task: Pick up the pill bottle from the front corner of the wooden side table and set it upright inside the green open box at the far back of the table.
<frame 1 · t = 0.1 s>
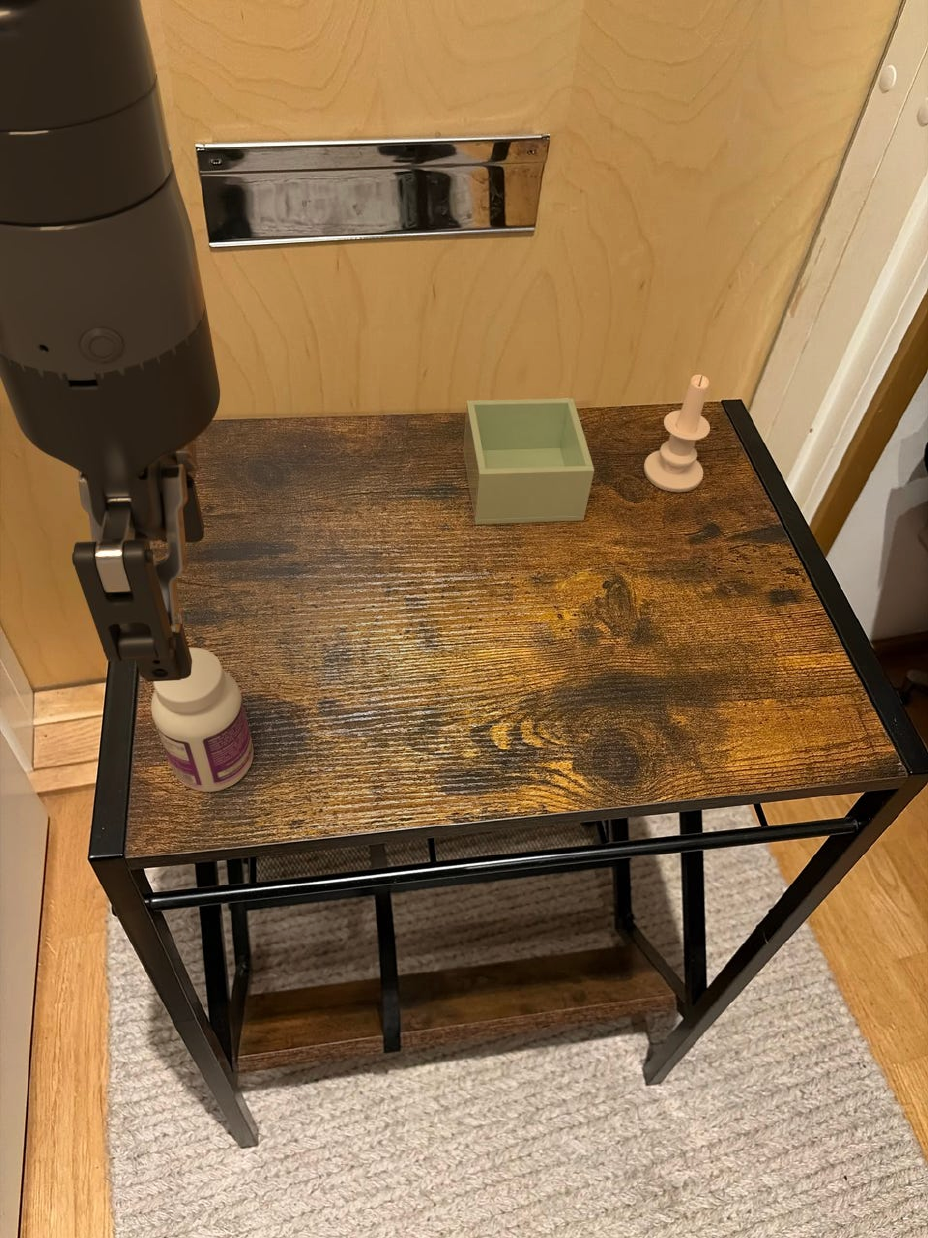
hand: (176, 602, 45), 20 cm above the table, tool pointing down, fingers open, 8 cm apart
pill bottle: (213, 760, 63), on the table
candle: (672, 474, 83), on the table
green open box: (521, 485, 81), on the table
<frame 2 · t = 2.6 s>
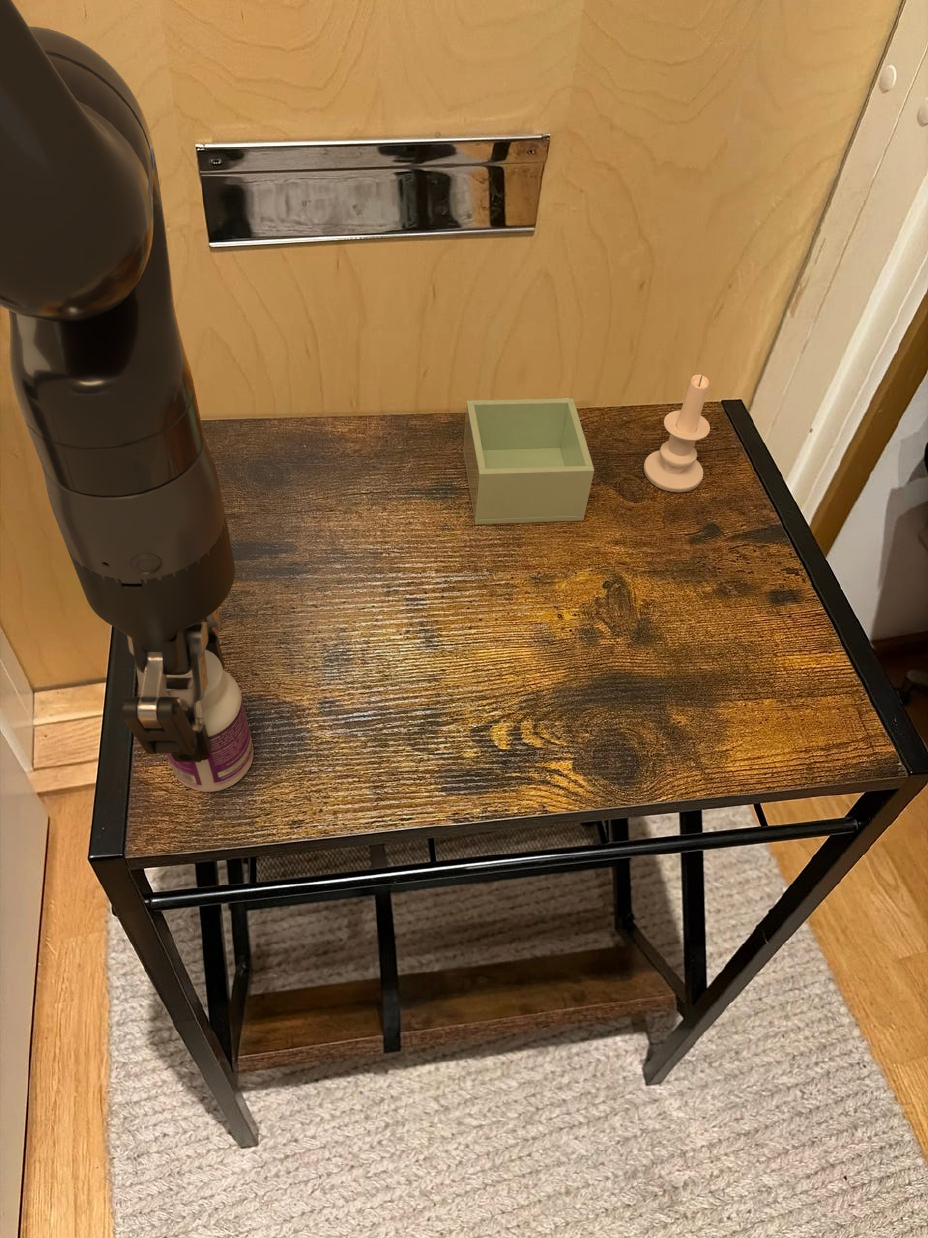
hand: (200, 713, 58), 5 cm above the table, tool pointing down, fingers closed on pill bottle, 5 cm apart
pill bottle: (213, 760, 63), on the table, touching gripper
everything else where it was.
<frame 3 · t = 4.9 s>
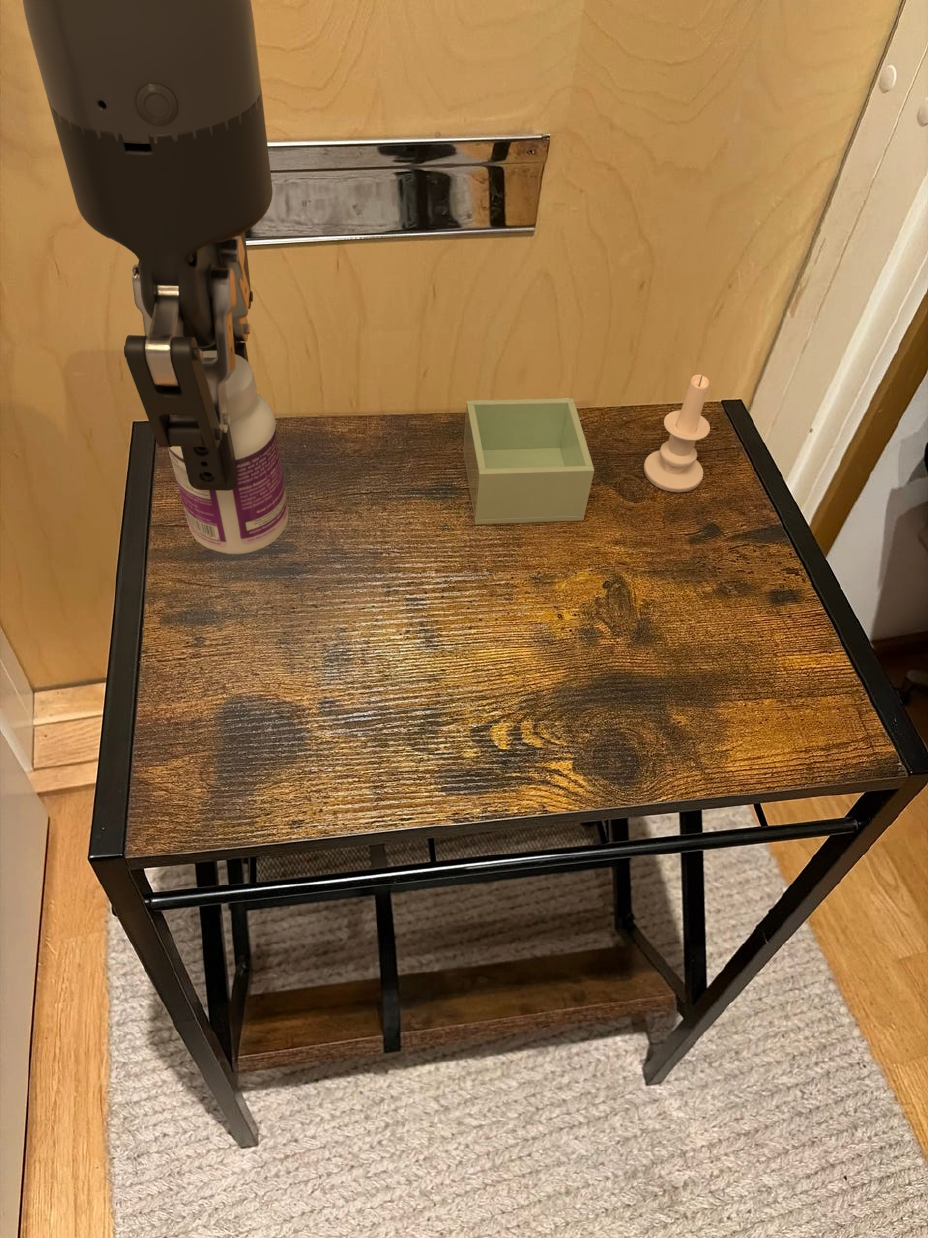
hand: (223, 443, 47), 24 cm above the table, tool pointing down, fingers closed on pill bottle, 5 cm apart
pill bottle: (239, 525, 51), point 18 cm above the table, touching gripper
everything else where it was.
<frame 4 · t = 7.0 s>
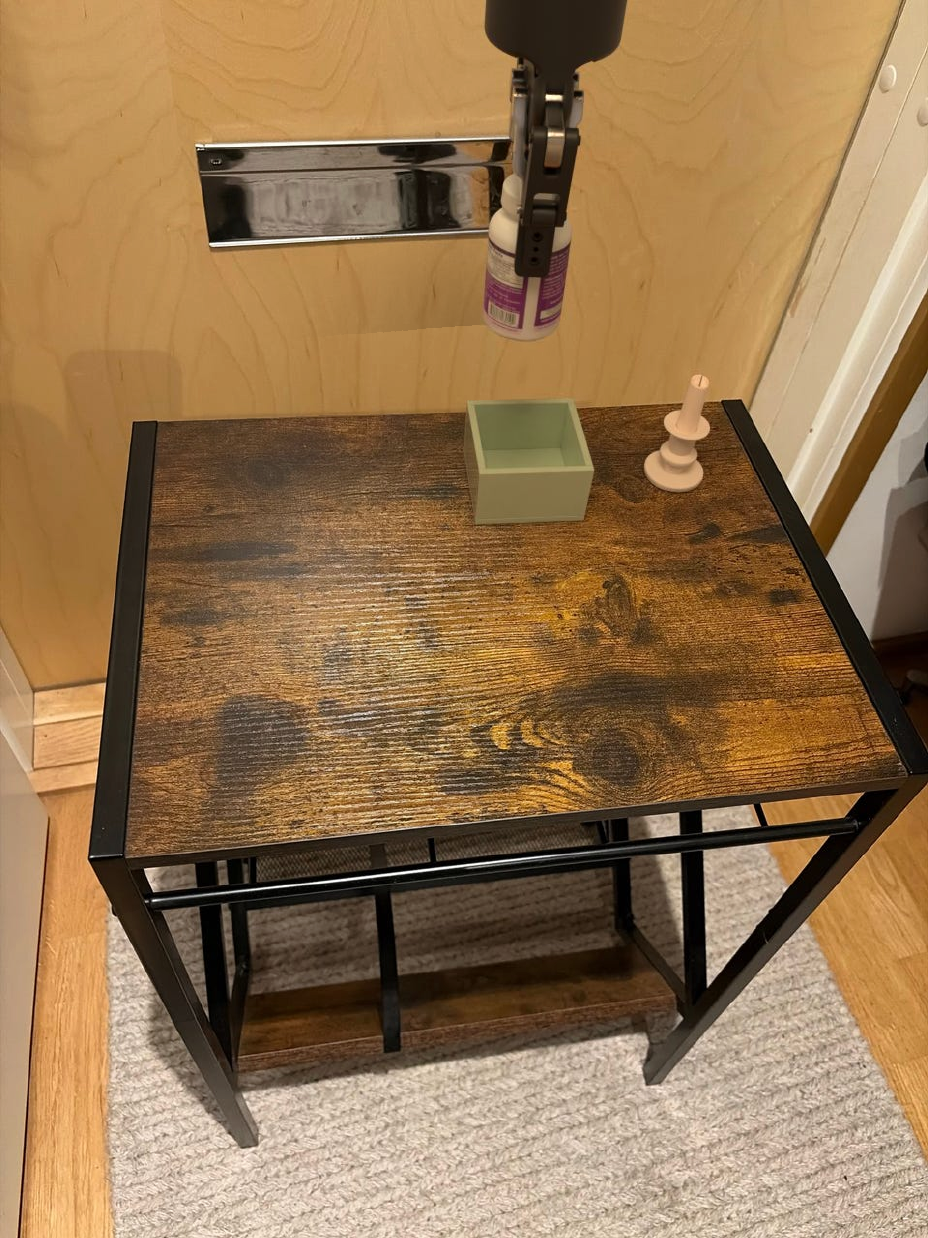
hand: (528, 248, 61), 23 cm above the table, tool pointing down, fingers closed on pill bottle, 5 cm apart
pill bottle: (519, 324, 66), point 18 cm above the table, touching gripper
everything else where it was.
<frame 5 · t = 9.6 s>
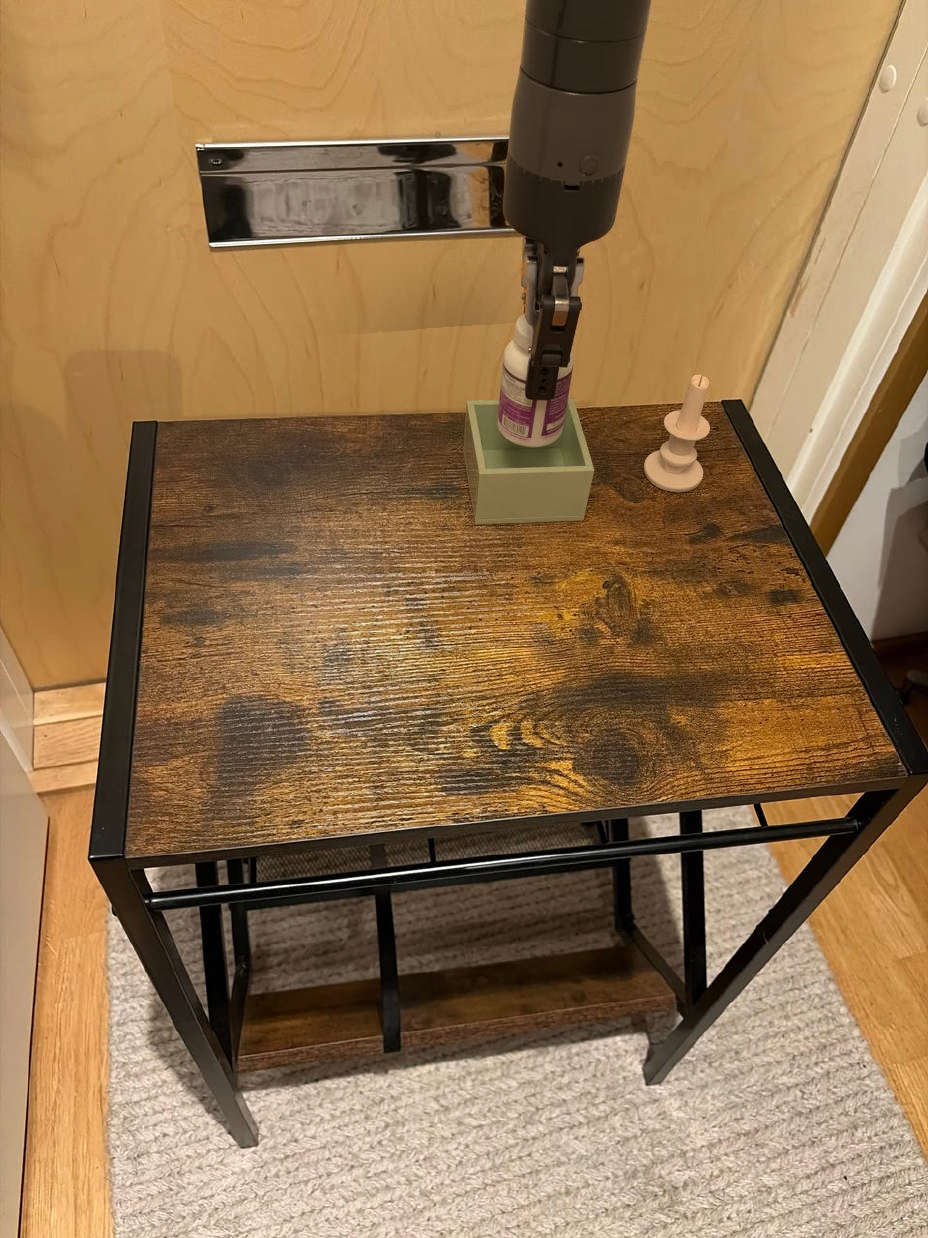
hand: (536, 372, 72), 12 cm above the table, tool pointing down, fingers closed on pill bottle, 5 cm apart
pill bottle: (528, 430, 77), point 6 cm above the table, touching gripper
everything else where it was.
when the fingers open (6 cm above the table, at t = 11.5 s): pill bottle stays where it is, resting on green open box.
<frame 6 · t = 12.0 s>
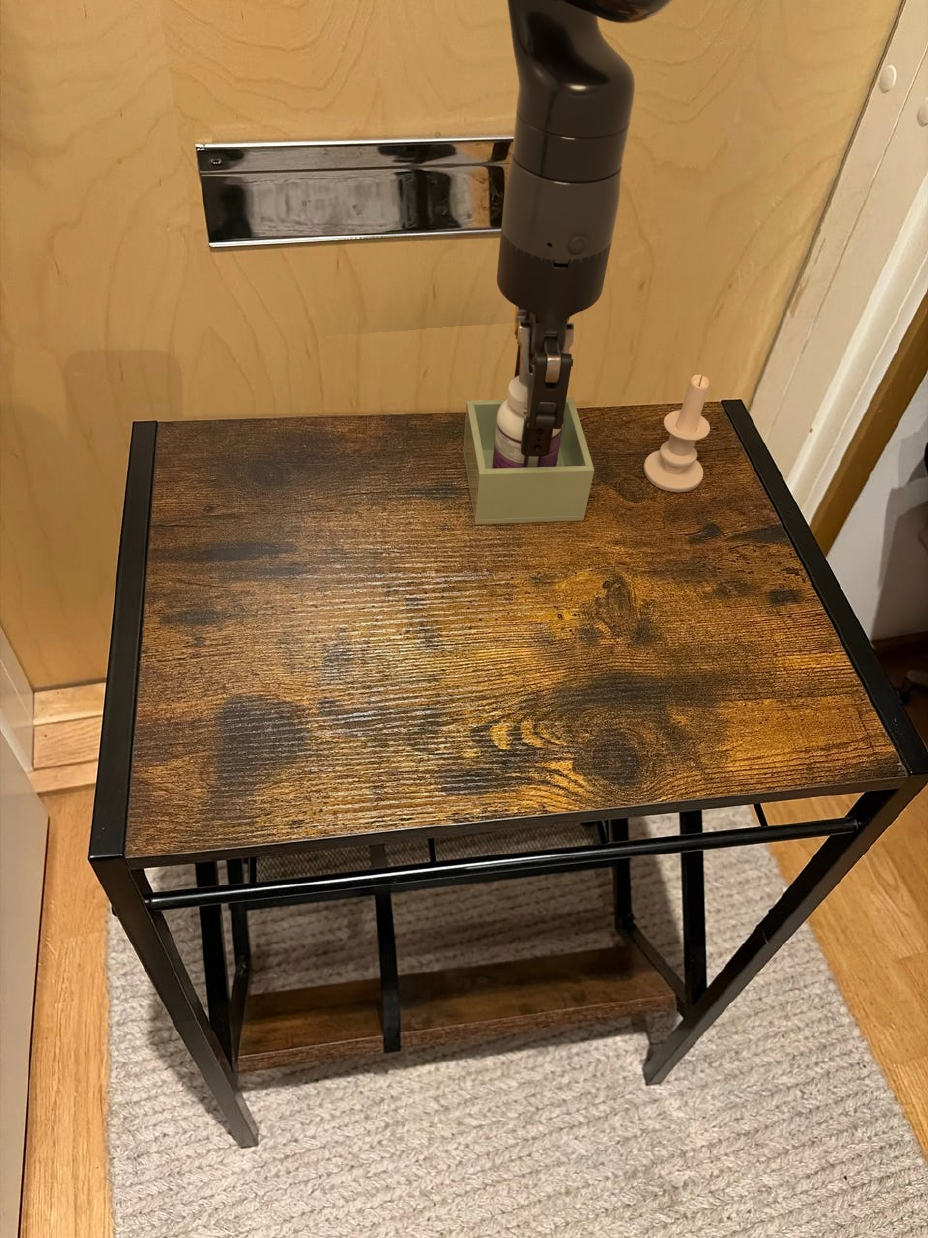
hand: (530, 418, 76), 7 cm above the table, tool pointing down, fingers open, 8 cm apart
pill bottle: (521, 482, 81), resting on green open box
everything else where it was.
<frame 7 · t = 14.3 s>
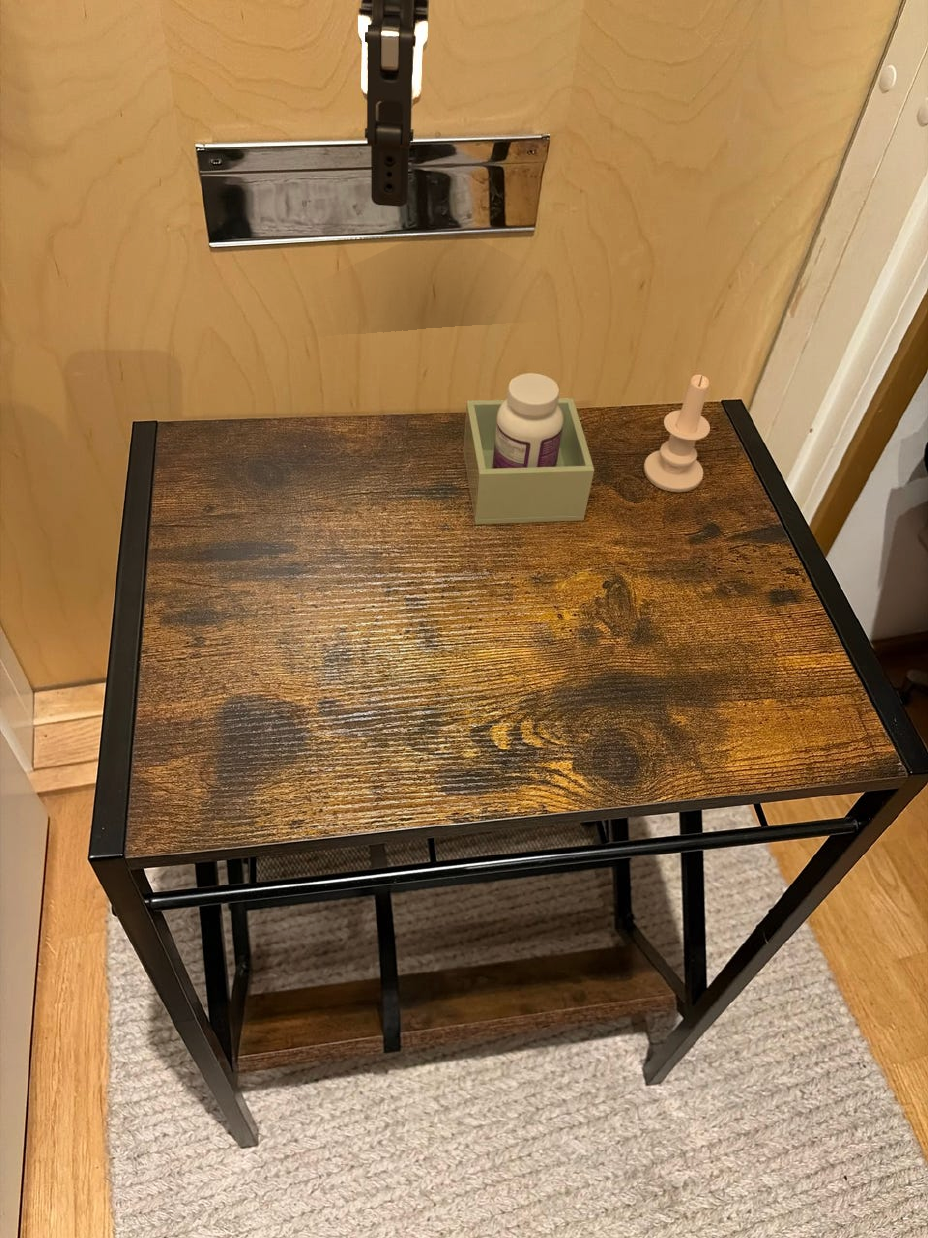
hand: (392, 171, 61), 26 cm above the table, tool pointing down, fingers open, 8 cm apart
nothing on the table moved.
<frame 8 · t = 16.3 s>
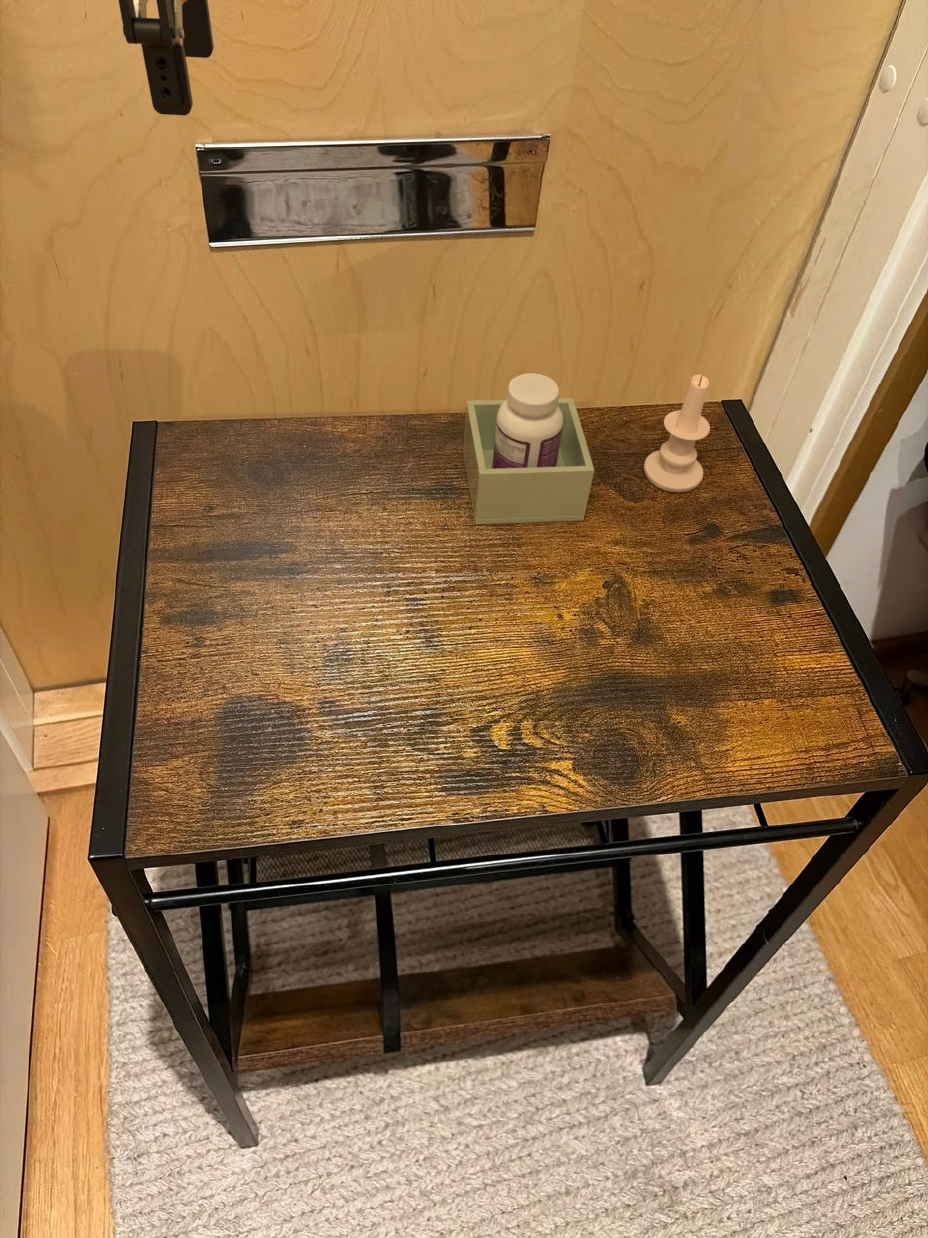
hand: (186, 82, 58), 30 cm above the table, tool pointing down, fingers open, 8 cm apart
nothing on the table moved.
at the end: pill bottle 0.1 cm off-centre in the green open box, point 0.4 cm above the green open box's base; pill bottle tilted 0°; the gripper is holding nothing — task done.
